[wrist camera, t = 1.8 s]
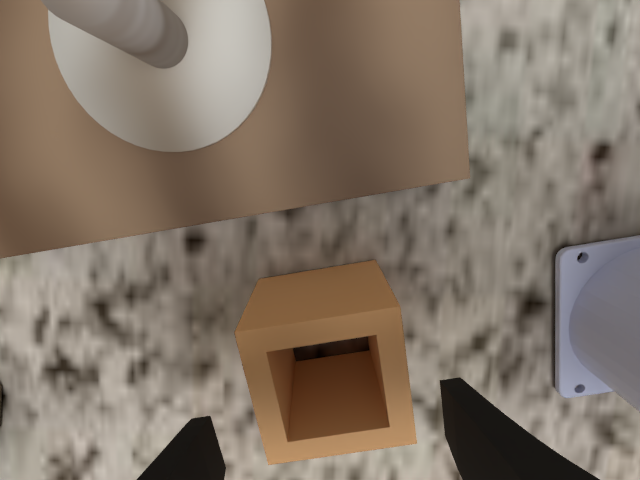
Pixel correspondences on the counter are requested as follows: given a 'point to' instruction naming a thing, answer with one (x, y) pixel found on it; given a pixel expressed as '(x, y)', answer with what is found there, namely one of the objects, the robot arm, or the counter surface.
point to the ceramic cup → (0, 401)
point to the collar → (326, 364)
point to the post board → (218, 110)
